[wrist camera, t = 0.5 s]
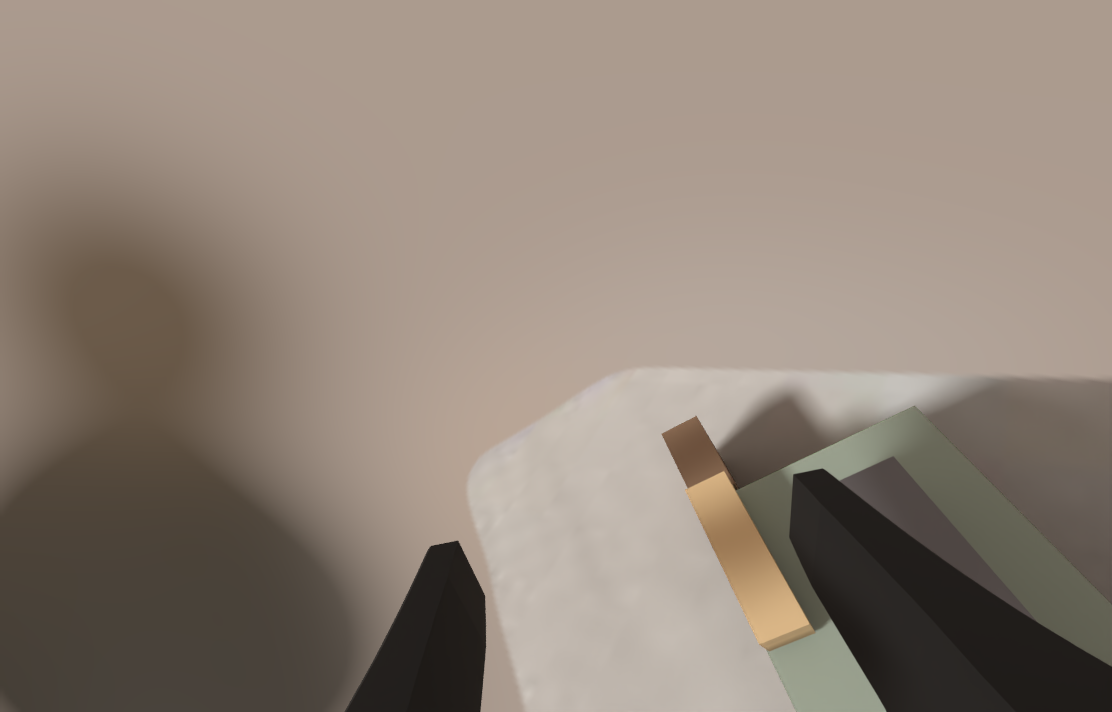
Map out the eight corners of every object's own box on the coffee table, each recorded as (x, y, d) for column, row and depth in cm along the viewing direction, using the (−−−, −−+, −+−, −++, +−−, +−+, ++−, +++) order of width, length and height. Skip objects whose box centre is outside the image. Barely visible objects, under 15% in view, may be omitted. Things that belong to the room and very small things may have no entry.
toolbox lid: (1330, 870, 12) (1518, 927, 8) (929, 968, 14) (944, 1048, 10) (912, 428, 22) (917, 367, 18) (709, 523, 24) (678, 484, 20)
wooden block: (816, 632, 17) (809, 624, 16) (769, 651, 18) (759, 644, 16) (734, 487, 22) (723, 470, 20) (697, 505, 22) (685, 489, 21)
